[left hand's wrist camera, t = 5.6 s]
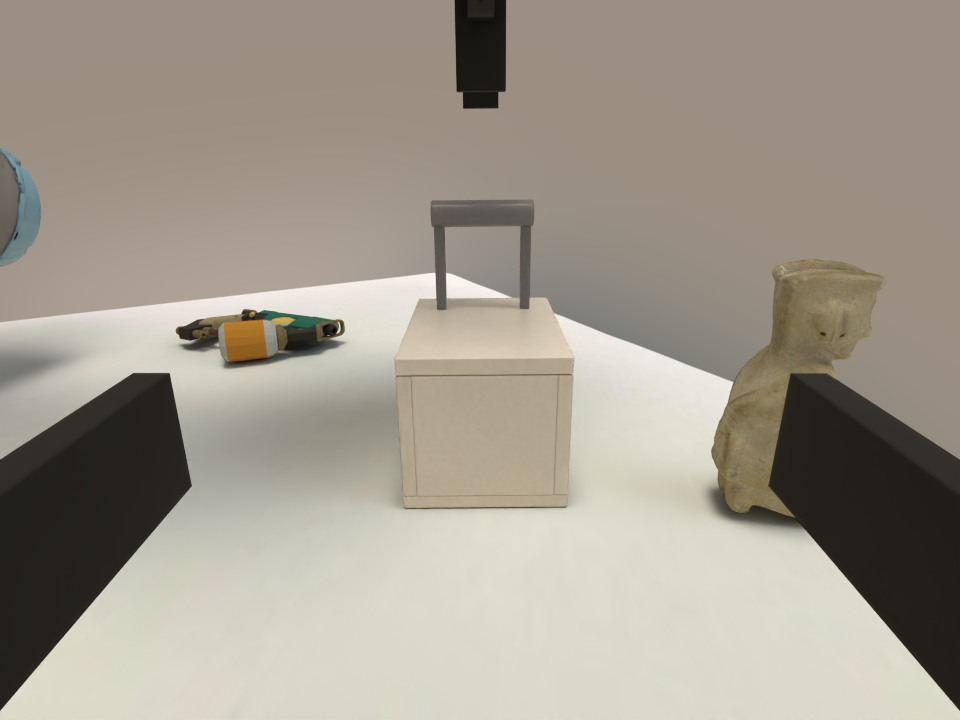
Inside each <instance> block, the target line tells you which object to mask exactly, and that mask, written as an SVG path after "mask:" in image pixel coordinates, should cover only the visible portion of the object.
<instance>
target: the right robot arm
mask: <svg viewBox="0 0 960 720" xmlns="http://www.w3.org/2000/svg"><path fill="white" fill-rule="evenodd" d="M455 34H456V81H457V92H463V108H464V109H474V108H498V92H505V90H506V0H455ZM20 165H21V162H20V161H19V160H18V159H17V158H16V157H15V156H14V155H13V154H11V153H10V152H8V151H7V150H5V149H2V148H0V267H2V266H5V265H8V264H11V263H13V262H15V261H17V260H18V259H19V258H21V257H22V256H23V255H24V254H25V253H26V250H27V249H28V248H29V247H30V246H31V245H32V244H33V242H34V241H35V238H36V236H37V233H38V230H39V226H40V219H41V207H40V200H39V195H38V191H37V188H36V185H35V183H34V181H33V179H32V177H31V175H30V173H29V172H28V171H27V170H26V169H23V168H21V167H20Z"/></svg>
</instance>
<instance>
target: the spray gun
mask: <svg viewBox="0 0 960 720" xmlns="http://www.w3.org/2000/svg"><path fill="white" fill-rule="evenodd" d="M338 322H340V326H341V331H340V333H338V334H336V333H337V331H338V328H339V325H338ZM344 330H345V327H344V322H343V321H342V320H338V319H337V320H330V319H324V318H318V317H309V316H301V315H293V314H285V313H278V312H274V311H266V310H263V311H261V312H259V313H257V312H256V311H255V310H248V309H244V310H243V312H242V314H239V315H230V316H221V317H212V318H206V319H200V320H196V321H194V322H192V323H191V324H189V325H187V326H184V327H177V329H176V333H177V334H178V335H179V337H180V339H185V340H190V341H191V340H195V339H203V338H205V337H215V336H216V335H218V336H219V346H220V351H221V356H222V358H223V359H225V360H226V361H227V362H234V361H243V360H251V359H259V358H268V357H270V356H273V355H275V353H276V352H277V351H278V348H279V350H284V348H285V346H286V344H287V343H288V341H302V340H316V339H317V342H322V341H323V340H326V339H330V338H333V337H337V336H340V335H342V334H343V333H344ZM326 335H331V336H326ZM287 339H288V340H287Z"/></svg>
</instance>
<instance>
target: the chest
mask: <svg viewBox="0 0 960 720" xmlns="http://www.w3.org/2000/svg"><path fill="white" fill-rule="evenodd" d="M396 390H397V406H398V422H399V438H400V454H401V469H402V485H403V495H404V496H403V501H404V508H455V507H566V506H567V496H568V495H567V493H568V475H569V454H570V433H571V412H572V391H573V374H513V375H406V376H396Z"/></svg>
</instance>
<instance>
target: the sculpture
mask: <svg viewBox="0 0 960 720" xmlns="http://www.w3.org/2000/svg"><path fill="white" fill-rule="evenodd" d="M772 274H773V277H774V280H775V291H774V300H773V330H772V338H771V343H770V344H769V345H768V346H766V347H765V348H763V349H762V350H761V351H759V352H758V353H757V354H756V355H755V356H754V357H753V358H752V359H750V360H749V361H748V362H747V363H746V364H745V365H744V366H743V367H742V369H741V370H740V371H739V373H738V375H737V376H736V379H735V381H734V383H733V386H732V389H731V392H730V396H729V400H728V404H727V406H726V408H725V410H724V413H723V416H722V418H721V420H720V422H719V424H718V427H717V430H716V434H715V437H714V445H713V447H712V450H711V453H712V458H713V460H714V462H715V465H716V467H717V469H718V470H719V471H718V485H719V487H720V489H721V490H722V491H723V492H725V500H726V502H727V504H728V505H729V507H730V508H731V509H732V510H733V511H735V512H739V513H745V512H748V511H749V509H750V507H751V506H753V505H758V506H761V507H764V508H767V509H770V510H773V511H776V512H778V513H781V514H784V515H787V516H791V517H794V516H793V514H792V513H791V512H790V511H789V510H788V509H787V507H786V506H785V505H784V504H783V503H782V502H781V500H780V499H779V498H778V497H777V496H776V495H775V493H774V492H773V491H772V490H771V489H770V487H769V486H768V485H769V480H770V475H771V470H772V464H773V459H774V454H775V449H776V444H777V439H778V434H779V429H780V424H781V419H782V414H783V409H784V403H785V398H786V393H787V388H788V383H789V378H790V373H827V374H829V375H830V376H832V377H833V378H835V379H836V380H837V375H836V372H835V370H834V368H833V366H832V364H831V361H832V360H835V359H848V358H849V357H850V355H851V353H852V351H853V349H854V347H855V345H856V343H857V342H858V341H859V340H861V339H862V338H865V337H868V336H869V335H870V333H871V323H870V319H871V312H872V309H873V306H874V304H875V302H876V294H877V292H878V291H879V290H880V289H881V288H882V287H883V286H884V285H885V284H886V279H885V277H883V276H881V275H877V274H873V273H867V272H865V271H863V270H862V269H860V268H858V267H855V266H853V265H850V264H847V263H842V262H835V261H828V260H802V261H795V262H790V263H785V264H781V265H778V266H776V267H774V269H773V271H772Z"/></svg>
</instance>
